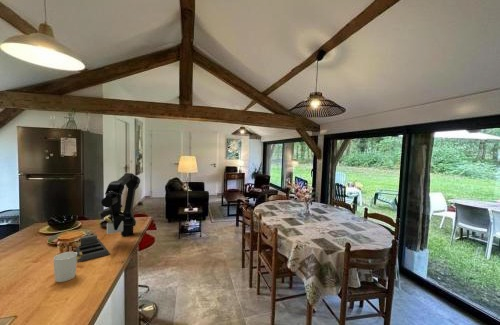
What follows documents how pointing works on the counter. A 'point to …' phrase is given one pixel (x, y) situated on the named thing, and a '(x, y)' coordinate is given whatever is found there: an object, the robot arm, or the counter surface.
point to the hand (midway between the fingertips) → (115, 229)
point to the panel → (111, 228)
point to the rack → (90, 248)
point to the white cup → (65, 266)
